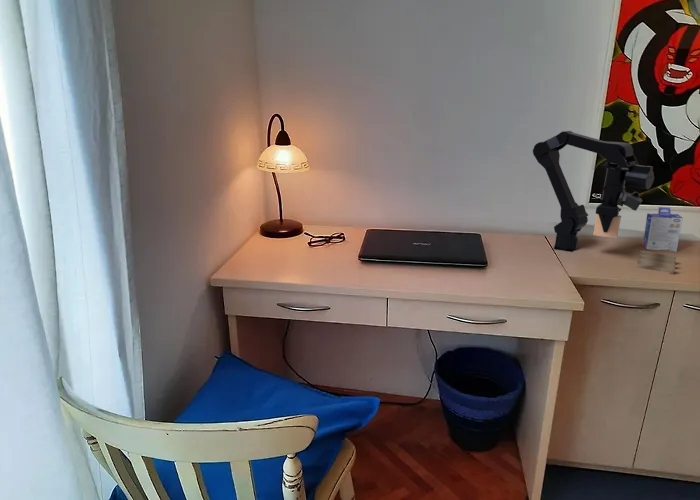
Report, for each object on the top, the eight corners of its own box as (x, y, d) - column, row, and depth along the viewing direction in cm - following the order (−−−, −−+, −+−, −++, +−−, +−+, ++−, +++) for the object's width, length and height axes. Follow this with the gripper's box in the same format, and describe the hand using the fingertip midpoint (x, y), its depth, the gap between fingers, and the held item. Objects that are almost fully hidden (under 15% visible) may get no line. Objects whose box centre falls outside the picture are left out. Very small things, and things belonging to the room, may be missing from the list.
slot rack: (636, 267, 168) (638, 258, 167) (639, 258, 176) (641, 250, 175) (673, 274, 163) (675, 265, 162) (674, 265, 171) (676, 256, 170)
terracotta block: (593, 234, 175) (596, 214, 173) (594, 232, 177) (597, 212, 175) (616, 238, 172) (620, 217, 170) (617, 236, 174) (621, 215, 172)
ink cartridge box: (671, 247, 187) (679, 207, 182) (677, 252, 182) (685, 211, 177) (640, 246, 189) (647, 206, 184) (645, 251, 184) (652, 210, 179)
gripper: (640, 192, 157) (630, 242, 162) (645, 181, 173) (636, 228, 178) (599, 187, 163) (591, 236, 168) (607, 177, 178) (599, 223, 183)
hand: (605, 231), depth 174 cm, fingers closed on terracotta block, 2 cm apart
